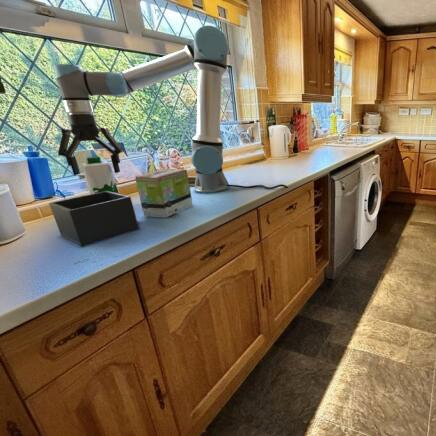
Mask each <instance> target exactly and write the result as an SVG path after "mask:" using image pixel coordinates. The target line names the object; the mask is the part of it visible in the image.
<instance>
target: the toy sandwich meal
mask: <svg viewBox="0 0 436 436" xmlns="http://www.w3.org/2000/svg"><path fill="white" fill-rule="evenodd" d="M188 181H189V187H195V181H196V175H188Z"/></svg>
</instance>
